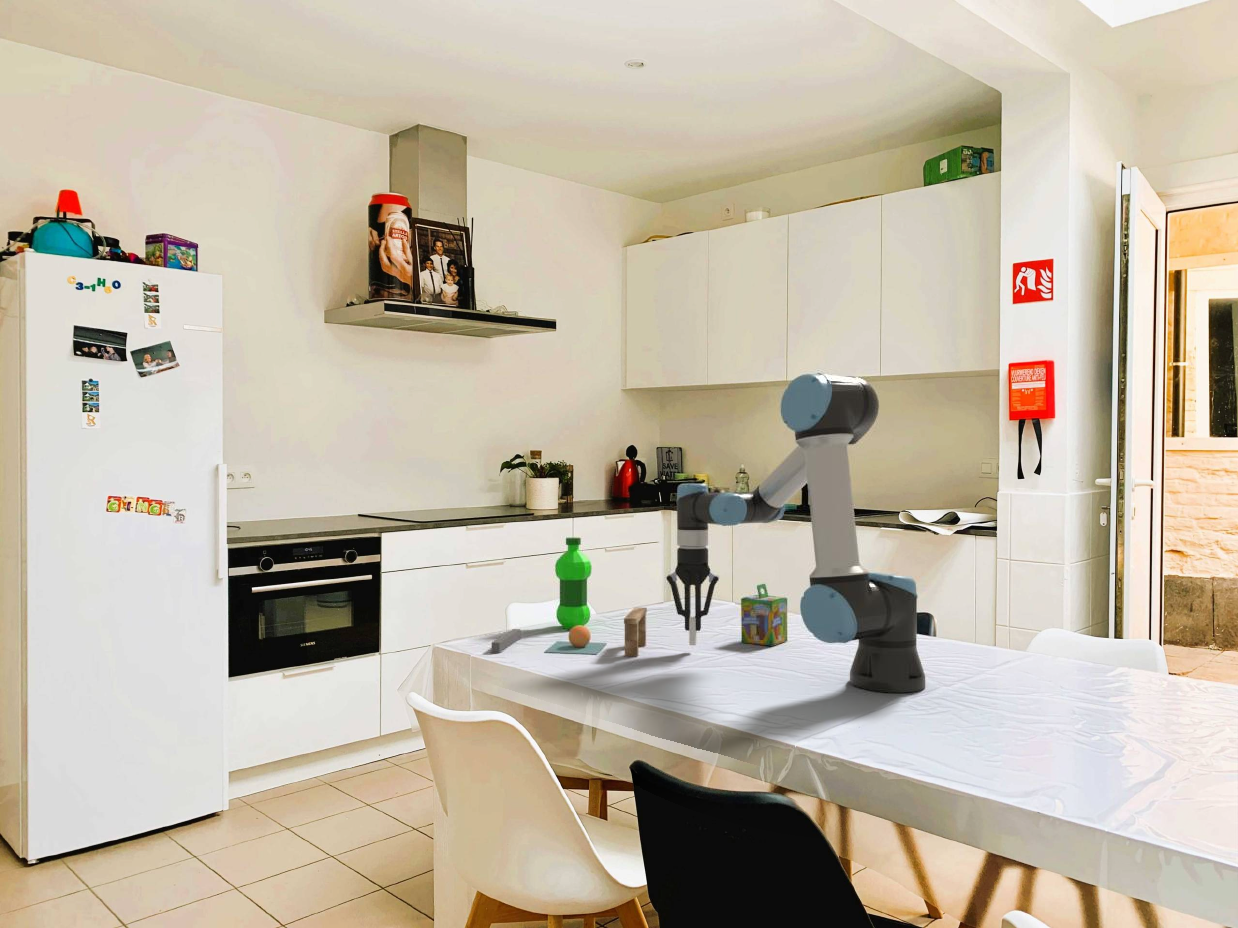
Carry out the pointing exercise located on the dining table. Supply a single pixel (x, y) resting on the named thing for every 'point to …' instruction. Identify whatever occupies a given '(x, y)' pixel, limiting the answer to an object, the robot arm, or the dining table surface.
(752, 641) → the chalk box
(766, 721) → the dining table surface
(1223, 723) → the dining table surface
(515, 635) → the grey long bar
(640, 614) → the bridge
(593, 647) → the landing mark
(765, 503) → the robot arm
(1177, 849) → the dining table surface
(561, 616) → the plastic bottle
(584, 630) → the ball
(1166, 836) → the dining table surface
